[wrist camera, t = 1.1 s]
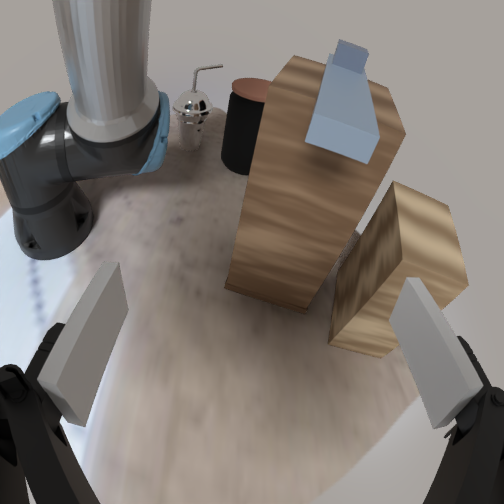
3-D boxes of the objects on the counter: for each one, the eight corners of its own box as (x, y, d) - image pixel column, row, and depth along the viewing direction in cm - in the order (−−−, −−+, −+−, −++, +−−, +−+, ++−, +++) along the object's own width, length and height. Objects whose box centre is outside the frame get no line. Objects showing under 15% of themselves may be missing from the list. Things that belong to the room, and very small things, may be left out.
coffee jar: (262, 149, 71) (278, 80, 57) (274, 177, 65) (296, 101, 51) (217, 149, 68) (227, 76, 54) (224, 177, 62) (237, 96, 48)
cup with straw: (178, 134, 70) (184, 56, 54) (214, 141, 70) (226, 62, 55) (165, 152, 64) (168, 67, 49) (204, 160, 64) (214, 73, 49)
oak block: (381, 358, 42) (468, 285, 27) (327, 344, 43) (402, 259, 27) (383, 287, 51) (448, 205, 36) (337, 272, 51) (392, 180, 36)
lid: (367, 164, 17) (395, 102, 14) (304, 141, 18) (325, 75, 14) (358, 79, 30) (369, 47, 27) (325, 68, 30) (335, 35, 27)
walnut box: (304, 314, 45) (408, 136, 22) (224, 288, 46) (266, 85, 23) (317, 244, 54) (389, 88, 32) (250, 222, 55) (292, 54, 32)
